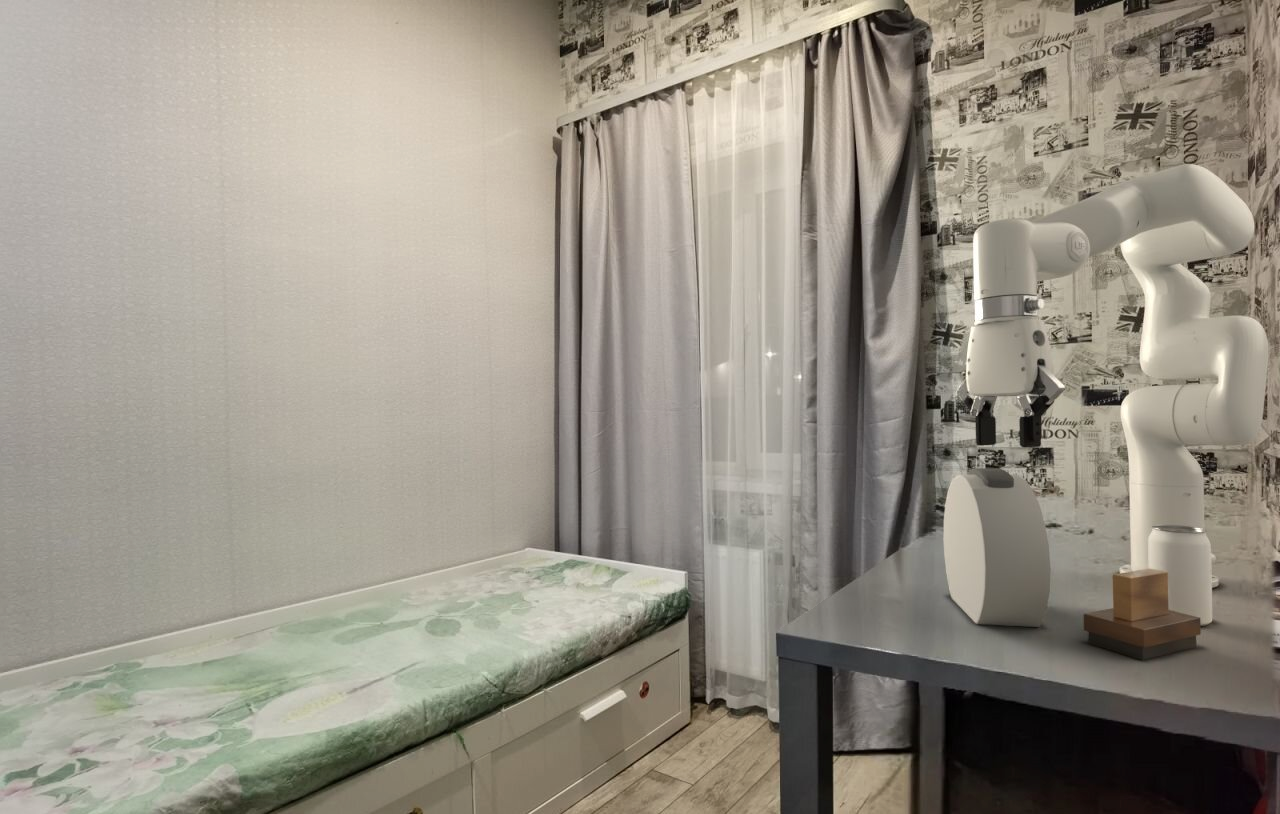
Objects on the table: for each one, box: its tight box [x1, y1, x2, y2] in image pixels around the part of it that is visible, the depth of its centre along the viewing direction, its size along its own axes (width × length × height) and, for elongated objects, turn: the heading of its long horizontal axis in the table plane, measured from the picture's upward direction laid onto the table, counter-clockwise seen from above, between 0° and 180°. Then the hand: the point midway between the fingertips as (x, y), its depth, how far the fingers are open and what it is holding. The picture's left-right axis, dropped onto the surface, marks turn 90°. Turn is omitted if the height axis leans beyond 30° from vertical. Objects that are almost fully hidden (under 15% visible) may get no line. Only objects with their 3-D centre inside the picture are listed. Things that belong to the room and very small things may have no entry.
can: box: [1148, 525, 1213, 627], centre depth 88 cm, size 6×6×12 cm
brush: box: [1083, 569, 1202, 661], centre depth 78 cm, size 11×7×8 cm, turn 113°
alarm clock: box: [943, 467, 1052, 628], centre depth 92 cm, size 21×8×20 cm, turn 168°
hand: (1007, 444), depth 90 cm, fingers open, 6 cm apart
